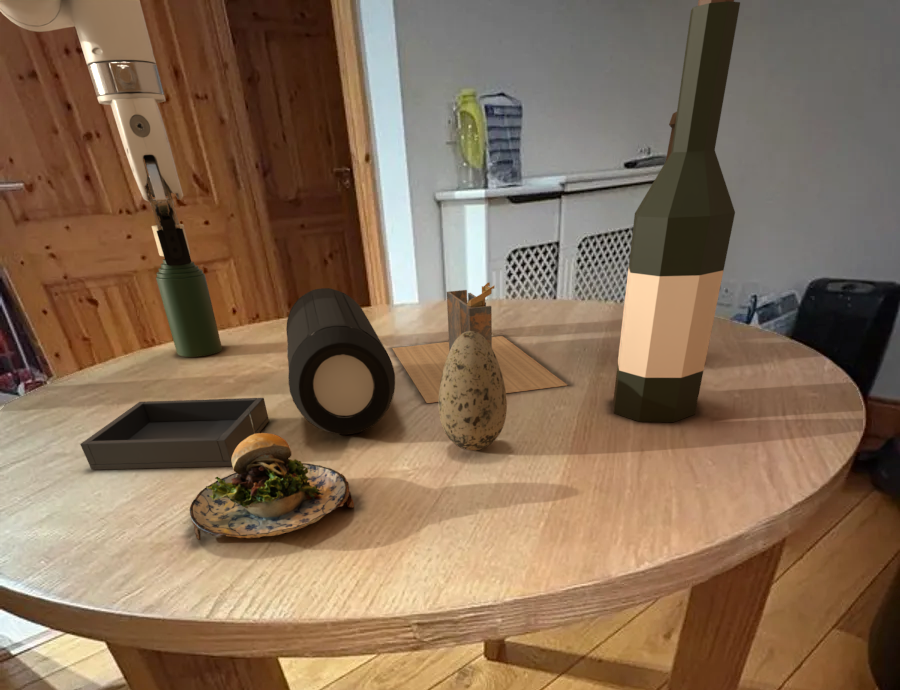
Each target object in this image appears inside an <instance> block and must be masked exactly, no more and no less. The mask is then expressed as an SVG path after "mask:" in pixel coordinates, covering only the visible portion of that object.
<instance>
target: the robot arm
mask: <svg viewBox="0 0 900 690" xmlns="http://www.w3.org/2000/svg"><path fill="white" fill-rule="evenodd" d="M0 13H1V14H2V15H3V16H4V17H6V19H8V20H9V21H10V22H11V23H13V24H15V25H16V26H18V27H20V28H22V29H23V30H26V31H27V30H28V31H31V32H37V33H40V32H41V33H42V32H51V31H56V30H61V29H67V28H74V27H75V31H76V34H77V38H78V41H79V43H80V47H81V50H82V53H83V57H84V59H85V63H86V66H87V69H88V73H89V76H90V79H91V82H92V85H93V90H94V92H95V96H96V99H97V101H98V104H100V105H106V106H108V105H109V106H110V108H111V110H112V114H113V117H114V121H115V123H116V127H117V130H118V133H119V136H120V140H121V143H122V146H123V149H124V152H125V155H126V159H127V160H128V164H129V166H130V169H131V172H132V175H133V177H134V180H135V182H136V186H137V188H138V190H139V192H140V195H141V197H142V199H143V200H144V201H146V202H148V203H149V205H150V207H151V211H152V213H153V217H154V220H155V221H154V222H155V223H156V224H155V225H157V227H158V231H157V234H158V238H159V241H160V244H161V248H162V251H163V254H164V259H165V261H166V264H167V265H169V266H173V265H182V264H190V263H191V261H192V259H191V253H190V254H189V251H188V247H187V243H186V240H185V236H184V232H183V229H182V228H181V229H180V225H179V224H180V222H179V218H178V214H177V211H176V207H175V202H174V200H173V195H172V194H175V195H176V196H175V197H176V198H177V200H180V201H181V200H182V199H183V198H184V193H183V189H182V185H181V182H180V178H179V175H178V170H177V165H176V162H175V159H174V156H173V152H172V151H173V150H172V148H171V144H170V141H169V137H168V132H167V130H166V126H165V123H164V119H163V117H162V116H163V115H162V114H161V111H160V108H159V105H158V104H160V103H164V102H165V103H166V102H167V100H166V95H165V92H164V88H163V85H162V80H161V76H160V73H159V69H158V66H157V61H156V58H155V55H154V49H153V46H152V42H151V38H150V34H149V31H148V28H147V23H146V19H145V15H144V12H143V8H142V4H141V0H0ZM175 226H176V227H175ZM162 229H163V230H162Z"/></svg>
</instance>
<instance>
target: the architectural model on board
mask: <svg viewBox="0 0 900 690" xmlns="http://www.w3.org/2000/svg"><path fill="white" fill-rule="evenodd" d="M493 289H495V285H492V286H491V282H487V283H485V284H484V285H482V286H481V293H480V294H478V295H477V296H476V295H474V294H473V293H472V292H468V290H467V289H460V290H450V291H446V308H447V328H448V329H447V330H448V341H444V342H443V341H442V342H436V343H435V342H433V343H425V344H416V345H409V346H399V347H392V348H391V349H392V351H393V352H394V354H395V355H396V357H397V359H398V360H399V362H400V363H401V365H402V366H403V368H404V370H405V371H406V372H407V374H408V376H409V377H410V379H411V381H412V382H413V384H414V386H415V387H416V389H417V390H418V391H419V393H420V395H421V397H422V398H423V400H424V402H426V404H432V403H439V389H440V383H441V378H442V373H443V369H444V365H445V362H446V359H447V356H448V354H449V351H450V349H451V347H452V345H453V343H454V342H455V340H456V339H457V338H458V337H459V336H460V335H461V334H462V333H464V332H467V331H475V332H478V333H480V334H481V335H482V336H483V337H484V338H485V339H486V340H487V341H488V343H489V344H490V346H491V348H492V350H493V352H494V353H495V356H496V358H497V360H498V363H499V366H500V369H501V373H502V376H503V380H504V385H505V391H506V394H510V393H511V394H512V393H518V392H519V393H520V392H526V391H534V390H542V389H543V390H544V389H550V388H558V387H565V386H568V383H566V382H564V381H563V380H562V379H560V378H559V377H558V376H556V375H555V374H554V373H552V372H551V371H549V370H548V369H547V368H546V367H544V366H543V365H542V364H540V363H539V362H537V361H536V360H535V359H534V358H532V357H531V356H530V355H528V354H527V353H526V352H525V351H523V350H522V349H521V348H519V347H518V346H516V345H515V344H514V343H512V342H511V341H510V340H508V339H507V338H506V337H504V336H503V335H499V336H498V335H495V336H493V335H492V333H493V332H492V329H493V328H492V323H493V322H492V317H493V316H492V305H487V302H486V298H487V297H488V296H490V295H491V294H492V291H493Z"/></svg>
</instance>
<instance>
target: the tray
mask: <svg viewBox="0 0 900 690" xmlns="http://www.w3.org/2000/svg"><path fill="white" fill-rule="evenodd" d="M249 410H250V413H251V416H252V421H253V425H254V429H255V433H256V434H257V433H262V430H264V428H265V427H266V426H267V424H268V423H269V422H270V417H269V415H268V414H269V413H268V411H267V405H266V401H265V398H264V397H239V398H211V399H210V398H209V399H207V398H206V399H183V400H182V399H179V400H178V399H177V400H151V401H138V402H137V403H136V404H134V405H132V407H130V408H129V409H127V410H125V411H124V412H123V413H122V414H120V415H119V416H117V417H116V418H115V419H113V420H112V421H110V422H109V423H107V424H106V425H105V426H103V427H102V428H100V429H99V430H98V431H96V432H95V433H94V434H92V435H91V436H89V437H88V438H87V439H85V440H84V441H82V442H80V443H79V445H80V447H81V449H82V451H83V454H84V456H85V459H86V461H87V463H88V465H89V467H90V470H93V471H94V470H95V471H96V470H100V471H101V470H134V469H135V470H136V469H137V470H139V469H174V468H175V469H176V468H177V469H178V468H213V467H214V468H215V467H220V468H221V467H233V466H232V461H231V459H232V455H233V452H234V450H235V449H236V447H237V446H238V445H239V444H240V443H241V442H242V441H243V440H245V439H246V438H247V437H249V436H251V435H253V434H255V433H254V429H253V426H252V423H251V418H250V413H249Z"/></svg>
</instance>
